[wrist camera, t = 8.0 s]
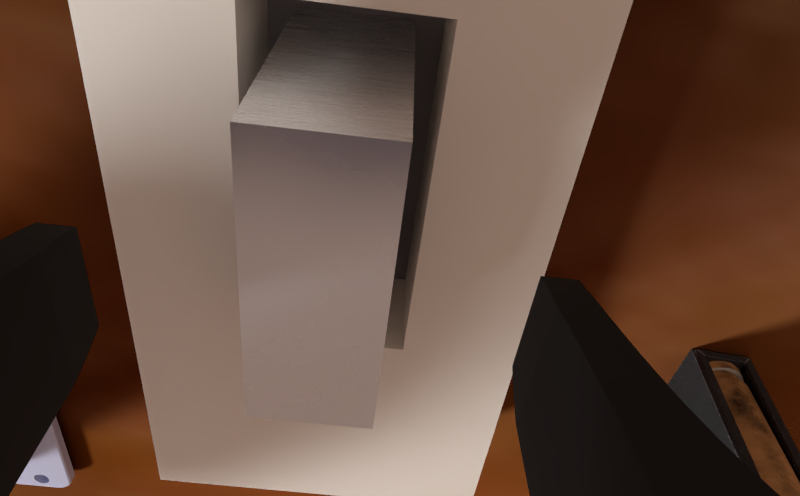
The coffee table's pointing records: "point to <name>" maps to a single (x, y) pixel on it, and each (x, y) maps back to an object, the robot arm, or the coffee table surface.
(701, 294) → the coffee table surface
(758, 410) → the ammunition clip
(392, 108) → the rectangular block
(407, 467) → the white rectangular slab
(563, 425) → the robot arm
